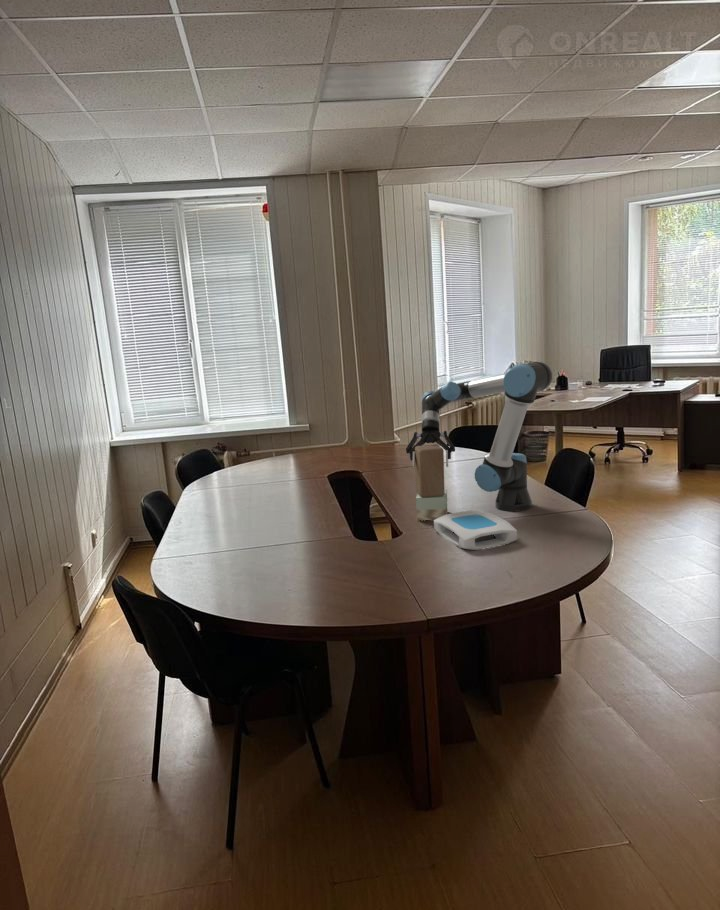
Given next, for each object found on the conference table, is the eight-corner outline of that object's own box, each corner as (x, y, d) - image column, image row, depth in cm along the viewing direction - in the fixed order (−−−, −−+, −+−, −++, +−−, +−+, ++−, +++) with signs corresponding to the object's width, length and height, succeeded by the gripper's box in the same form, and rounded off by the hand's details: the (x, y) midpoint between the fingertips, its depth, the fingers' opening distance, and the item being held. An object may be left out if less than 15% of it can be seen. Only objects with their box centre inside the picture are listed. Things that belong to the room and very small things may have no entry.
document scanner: (465, 553, 233) (464, 536, 232) (433, 531, 259) (432, 516, 258) (518, 543, 239) (518, 526, 237) (482, 522, 265) (481, 507, 264)
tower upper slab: (447, 501, 282) (446, 489, 281) (445, 509, 271) (445, 497, 270) (419, 501, 284) (418, 490, 283) (416, 509, 273) (415, 498, 272)
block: (445, 496, 271) (444, 448, 267) (421, 498, 270) (419, 450, 266) (438, 490, 281) (437, 444, 277) (415, 492, 280) (414, 445, 276)
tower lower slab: (447, 512, 283) (447, 501, 282) (446, 520, 272) (446, 509, 271) (419, 513, 285) (418, 501, 284) (417, 521, 274) (416, 510, 273)
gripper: (460, 427, 284) (461, 469, 272) (402, 430, 288) (401, 471, 276) (459, 417, 278) (460, 459, 266) (400, 420, 282) (398, 462, 270)
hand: (430, 466), depth 271 cm, fingers open, 13 cm apart
